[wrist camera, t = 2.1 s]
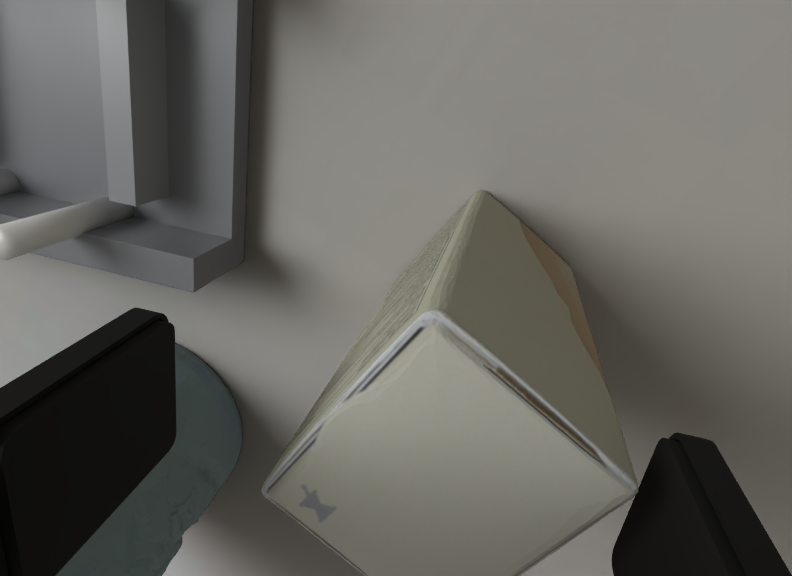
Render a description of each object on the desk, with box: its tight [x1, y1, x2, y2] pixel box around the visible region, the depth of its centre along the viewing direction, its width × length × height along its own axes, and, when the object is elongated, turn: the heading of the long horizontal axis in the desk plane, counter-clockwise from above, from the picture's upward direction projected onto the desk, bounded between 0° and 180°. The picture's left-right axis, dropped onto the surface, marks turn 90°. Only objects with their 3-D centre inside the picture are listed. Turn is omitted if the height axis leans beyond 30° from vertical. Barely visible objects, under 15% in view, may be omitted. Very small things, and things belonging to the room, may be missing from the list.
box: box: [262, 190, 639, 576], centre depth 14 cm, size 5×4×11 cm
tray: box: [0, 0, 253, 292], centre depth 17 cm, size 14×11×6 cm
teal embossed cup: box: [56, 343, 243, 576], centre depth 19 cm, size 10×10×12 cm
